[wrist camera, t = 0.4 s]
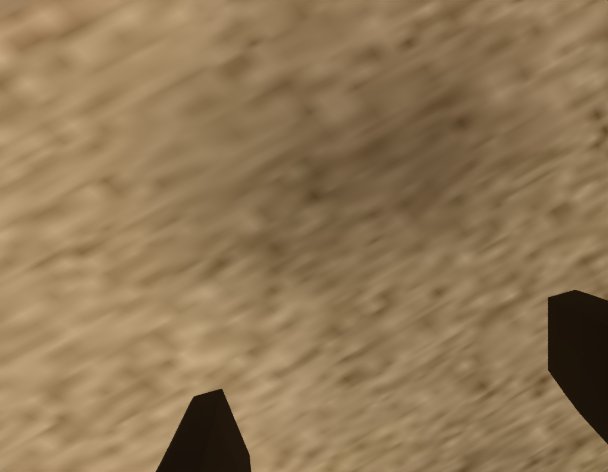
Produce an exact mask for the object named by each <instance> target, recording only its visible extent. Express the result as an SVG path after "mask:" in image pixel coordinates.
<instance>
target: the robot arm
mask: <svg viewBox="0 0 608 472" xmlns="http://www.w3.org/2000/svg"><path fill="white" fill-rule="evenodd" d="M548 371H549V372H550V373H551V375H552V376H553V378H554V379H555V381H556V382H557V383H558V385H559V386H560V388H561V389H562V390H563V392H564V393H565V395H566V396H567V397H568V399H569V400H570V401H571V403H572V404H573V405H574V407H575V408H576V409H577V411H578V412H579V413H580V414H581V415H582V416H583V418H584V419H585V420H586V421H587V422H588V423H589V424H590V425H591V426H592V428H593V429H594V430H595V431H596V432H597V433H598V434H599V435H600V436H601V437H602V438H603V440H604V441H605V442H606V443H607V444H608V301H607V300H605V299H602V298H599V297H596V296H593V295H590V294H587V293H584V292H581V291H577V290H573V291H569V292H566V293H562V294H559V295H555V296H551V297H548ZM156 472H251V465H250V455H249V452H248V450H247V448H246V445H245V443H244V440H243V438H242V436H241V433H240V431H239V428H238V426H237V424H236V421H235V419H234V416H233V414H232V412H231V409H230V407H229V404H228V402H227V400H226V397H225V395H224V392H223V390H222V389H219V390H215V391H212V392H208V393H205V394H201V395H197V396H194V397H193V399H192V400H191V402H190V404H189V406H188V408H187V410H186V412H185V414H184V416H183V418H182V420H181V423H180V425H179V427H178V429H177V431H176V433H175V435H174V437H173V439H172V441H171V443H170V445H169V447H168V449H167V451H166V453H165V455H164V457H163V459H162V461H161V463H160V465H159V466H158V468H157V470H156Z"/></svg>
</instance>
